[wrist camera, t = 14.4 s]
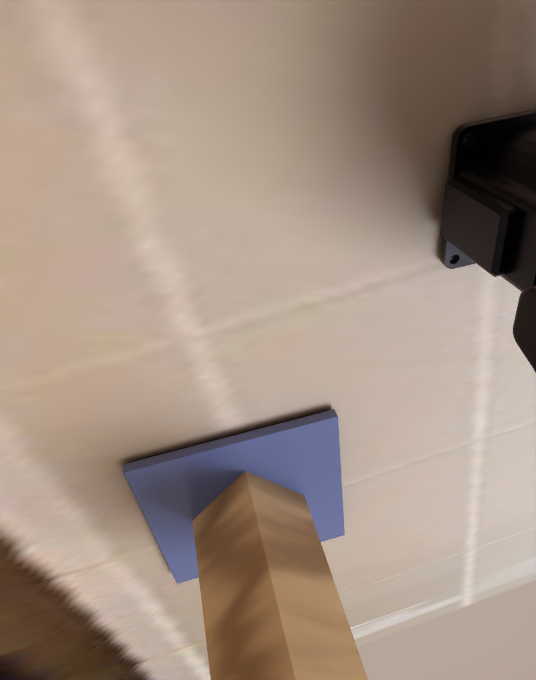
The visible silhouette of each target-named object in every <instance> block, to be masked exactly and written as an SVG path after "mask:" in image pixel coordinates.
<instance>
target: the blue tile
mask: <svg viewBox="0 0 536 680" xmlns="http://www.w3.org/2000/svg"><path fill="white" fill-rule="evenodd" d="M245 471H247V472H249V473H252V474H254V475H257V476H259V477H261V478H264V479H266V480H268V481H271V482H273V483H276V484H278V485H280V486H283V487H285V488H287V489H290V490H292V491H294V492H297V493H299V494H302V495H304V496H305V499H306V502H307V505H308V508H309V511H310V514H311V516H312V519H313V522H314V525H315V528H316V531H317V534H318V537H319V540H320V542H322V541H326V540H329V539H332V538H336V537H339V536H343V535H345V534H344V517H343V500H342V482H341V465H340V447H339V430H338V416H337V414H336V412H335V410H334V409H333V410H329V411H326V412H322V413H318V414H314V415H310V416H306V417H303V418H299V419H295V420H291V421H287V422H283V423H280V424H276V425H272V426H268V427H264V428H261V429H257V430H253V431H249V432H245V433H241V434H238V435H234V436H230V437H226V438H222V439H218V440H215V441H211V442H207V443H203V444H199V445H195V446H192V447H188V448H184V449H180V450H176V451H172V452H169V453H165V454H161V455H157V456H153V457H150V458H146V459H142V460H138V461H134V462H130V463H127V464H124V475H125V477H126V479H127V481H128V483H129V485H130V487H131V489H132V491H133V493H134V496H135V498H136V500H137V502H138V504H139V506H140V508H141V510H142V512H143V514H144V516H145V518H146V520H147V522H148V525H149V527H150V529H151V531H152V533H153V535H154V537H155V539H156V541H157V543H158V545H159V547H160V549H161V551H162V554H163V556H164V558H165V560H166V562H167V564H168V566H169V568H170V570H171V572H172V574H173V576H174V578H175V580H176V583H177V584H178V583H181V582H185V581H188V580H191V579H195V578H198V577H199V573H198V564H197V556H196V547H195V539H194V530H193V520H194V519H195V518H196V517H197V516H198V515H199V514H200V513H201V512H202V511H203V510H204V509H205V508H206V507H207V506H209V505H210V504H211V503H212V502H213V501H214V500H215V499H216V498H217V497H218V496H219V495H220V494H221V493H222V492H223V491H224V490H226V489H227V488H228V487H229V486H230V485H231V484H232V483H233V482H234V481H235V480H236V479H237V478H238V477H239V476H240V475H241V474H243V473H244V472H245Z"/></svg>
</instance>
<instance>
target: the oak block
mask: <svg viewBox="0 0 536 680" xmlns="http://www.w3.org/2000/svg"><path fill="white" fill-rule="evenodd" d="M193 530H194V539H195V547H196V556H197V564H198V573H199V582H200V590H201V599H202V607H203V616H204V625H205V633H206V642H207V650H208V659H209V668H210V676H211V680H368V678H367V676H366V673H365V670H364V667H363V664H362V661H361V658H360V655H359V652H358V650H357V647H356V644H355V641H354V638H353V635H352V632H351V629H350V626H349V624H348V621H347V618H346V615H345V612H344V609H343V606H342V603H341V600H340V597H339V595H338V592H337V589H336V586H335V583H334V580H333V577H332V574H331V571H330V569H329V566H328V563H327V560H326V557H325V554H324V551H323V548H322V545H321V543H320V540H319V537H318V534H317V531H316V528H315V525H314V522H313V519H312V516H311V514H310V511H309V508H308V505H307V502H306V499H305V496H304V495H302V494H299V493H297V492H294V491H292V490H290V489H287V488H285V487H283V486H280V485H278V484H276V483H273V482H271V481H268V480H266V479H264V478H261V477H259V476H257V475H254V474H252V473H249V472H247V471H245V472H244V473H243V474H241V475H240V476H239V477H238V478H237V479H236V480H235V481H234V482H233V483H232V484H231V485H230V486H229V487H228V488H227V489H226V490H224V491H223V492H222V493H221V494H220V495H219V496H218V497H217V498H216V499H215V500H214V501H213V502H212V503H211V504H210V505H209V506H207V507H206V508H205V509H204V510H203V511H202V512H201V513H200V514H199V515H198V516H197V517H196V518H195V519H194V520H193Z"/></svg>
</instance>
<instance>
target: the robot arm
mask: <svg viewBox="0 0 536 680" xmlns="http://www.w3.org/2000/svg"><path fill="white" fill-rule="evenodd" d="M467 133H469V137H468V139H467V141H466V142H464V143H463V138H464V136H465V135H466V134H467ZM441 236H442V237H443V238H442V249H441V262H442V263H443V264H444V265H445V266H446V267H447V268H449V269H454V268H458V267H463V266H467V265H471V264H475V263H477V264H478V265H479V266H481V267H482V268H483V269H484V270H486V271H487V272H488V273H490V274H491V275H492V276H494V277H497V276H502V277H503V278H504V279H506V280H507V281H508V282H510V283H511V284H512V285H514V286H515V287H516V288H517V289H519V290H520V291H521V292H522V293H521V294H520V297H519V302H518V306H517V311H516V316H515V320H514V325H513V335H514V338H515V341H516V343H517V344H518V346H519V347H520V349H521V350H522V352H523V353H524V355H525V356H526V358H527V360H528V361H529V363H530V364H531V366H532V367H533V369H534V371H535V372H536V110H531V111H526V112H521V113H516V114H511V115H506V116H501V117H496V118H491V119H486V120H481V121H476V122H471V123H466V124H463V125H461V126H459V127H458V128H457V129H456V131H455V132H454V134H453V138H452V146H451V156H450V166H449V177H448V181H447V182H446V184H445V194H444V204H443V215H442V226H441ZM453 255H455V257H454V258H453V259H452V260H450V258H451V257H452V256H453Z"/></svg>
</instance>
